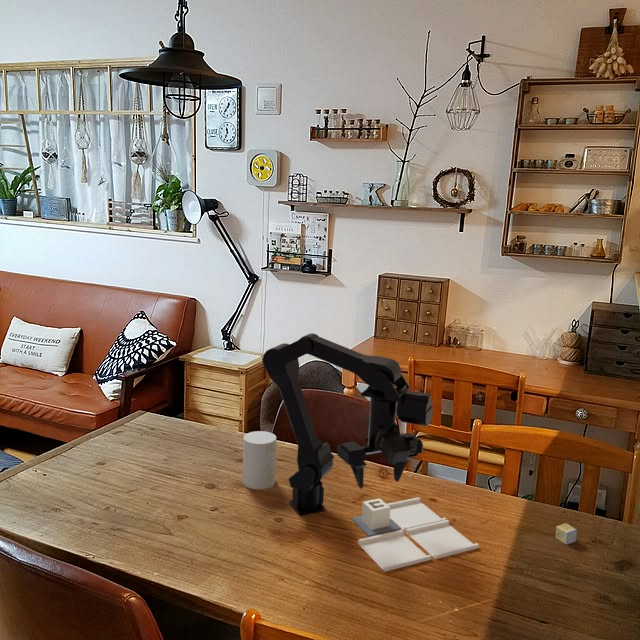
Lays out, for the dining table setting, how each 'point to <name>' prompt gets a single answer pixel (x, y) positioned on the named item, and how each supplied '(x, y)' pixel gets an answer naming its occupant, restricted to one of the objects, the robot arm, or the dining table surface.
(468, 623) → the dining table surface
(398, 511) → the tray
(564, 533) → the alphabet block
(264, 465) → the white cylinder
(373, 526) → the letter cube
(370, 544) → the tray
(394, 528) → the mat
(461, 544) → the tray
